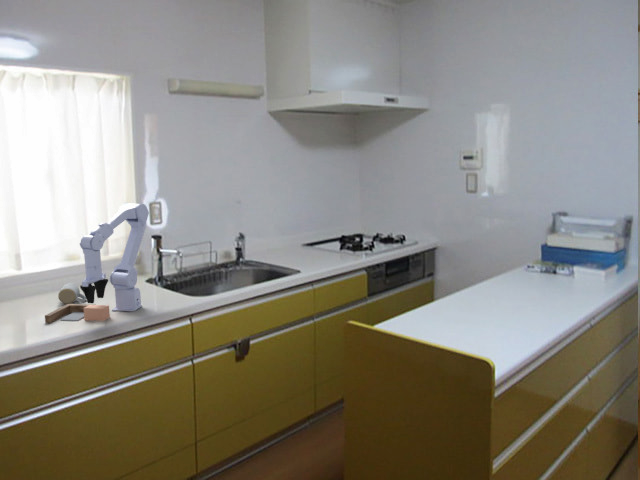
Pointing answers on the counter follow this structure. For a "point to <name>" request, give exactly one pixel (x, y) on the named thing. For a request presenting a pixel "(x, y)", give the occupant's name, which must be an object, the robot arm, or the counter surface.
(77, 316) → the mat
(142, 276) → the counter surface
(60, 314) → the brown l-shaped piece
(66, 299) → the ceramic mug
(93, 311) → the block
